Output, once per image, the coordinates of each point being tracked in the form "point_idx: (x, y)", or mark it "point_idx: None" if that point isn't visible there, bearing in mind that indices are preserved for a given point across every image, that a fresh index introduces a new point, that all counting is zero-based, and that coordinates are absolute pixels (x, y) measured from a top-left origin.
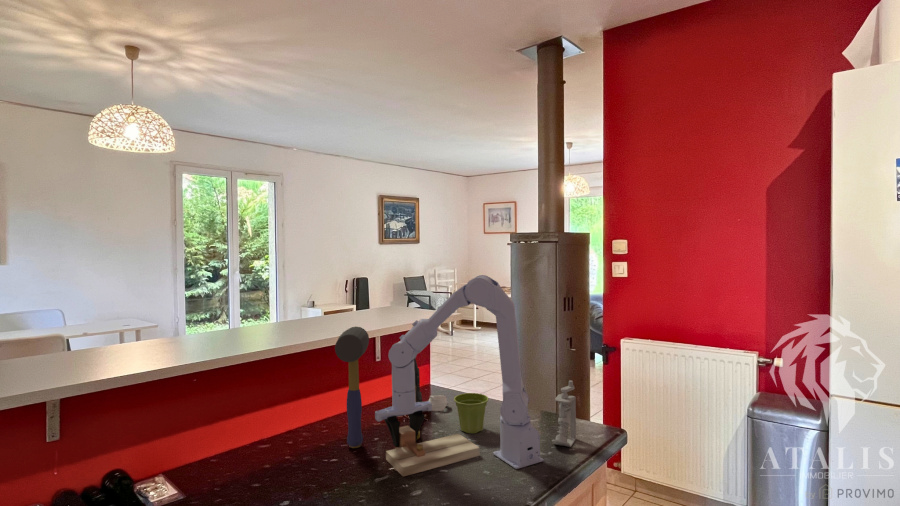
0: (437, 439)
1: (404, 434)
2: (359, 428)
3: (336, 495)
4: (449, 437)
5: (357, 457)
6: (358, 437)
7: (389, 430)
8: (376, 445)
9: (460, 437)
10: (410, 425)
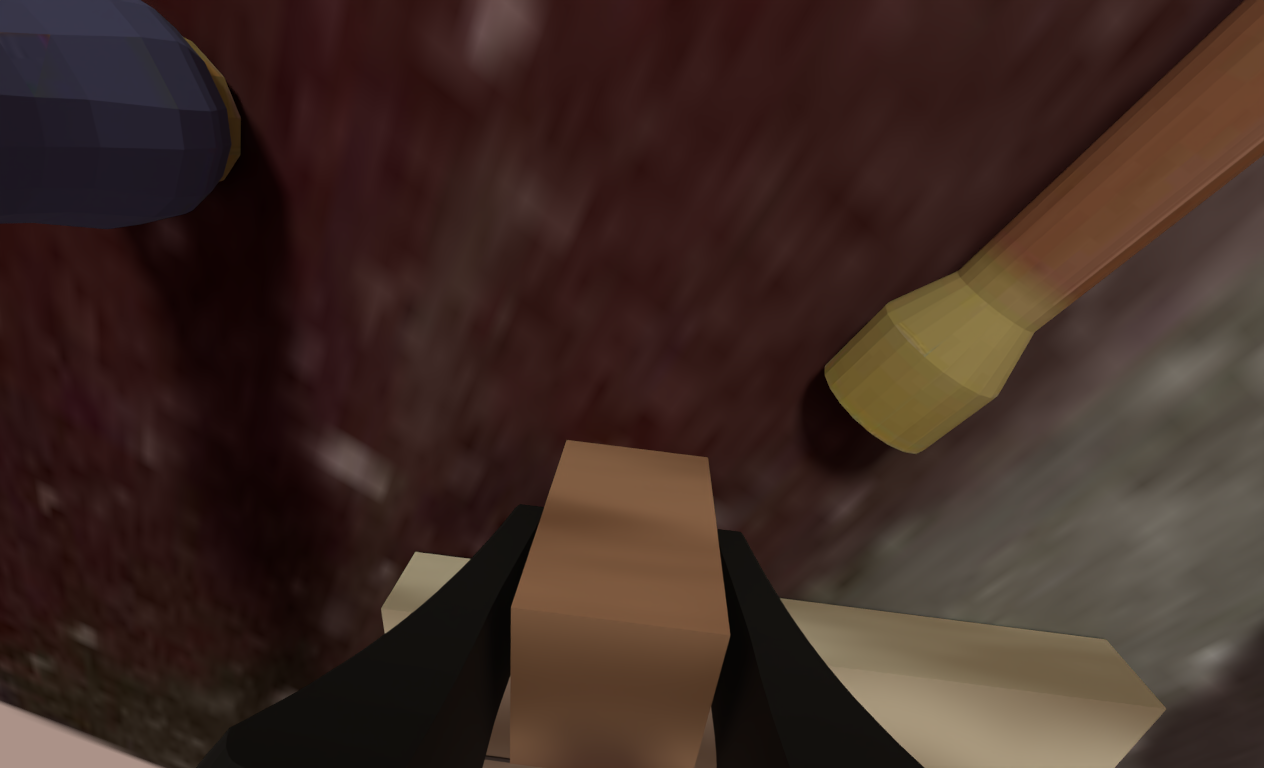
0: (908, 687)
1: (548, 755)
2: None
3: (47, 705)
4: (1023, 715)
5: (188, 382)
6: (76, 224)
7: (421, 606)
8: (428, 244)
9: (1088, 759)
10: (748, 675)
